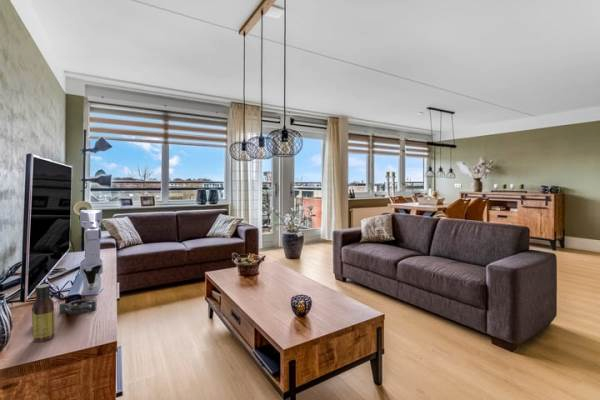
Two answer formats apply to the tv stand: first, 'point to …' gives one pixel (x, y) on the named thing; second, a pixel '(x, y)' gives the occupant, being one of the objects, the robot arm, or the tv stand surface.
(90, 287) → the air tube
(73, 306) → the collar stand
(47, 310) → the sauce bottle
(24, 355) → the tv stand surface
